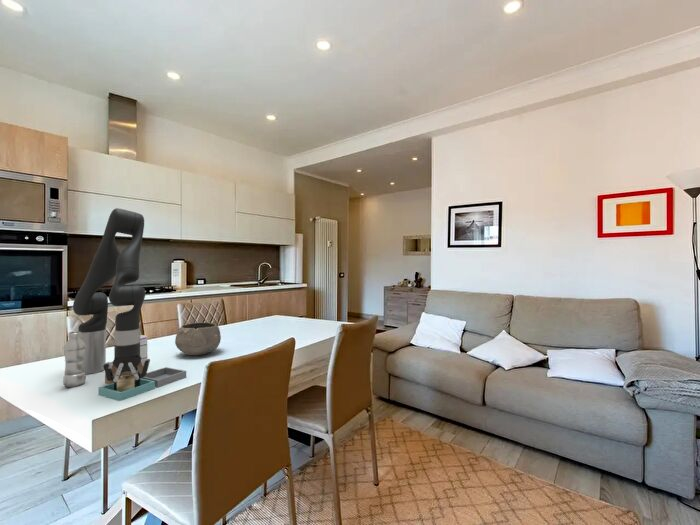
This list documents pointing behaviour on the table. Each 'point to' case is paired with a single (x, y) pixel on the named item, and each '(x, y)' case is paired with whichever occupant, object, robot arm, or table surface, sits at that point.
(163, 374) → the gray bin
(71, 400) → the table surface
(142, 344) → the syrup box
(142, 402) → the table surface
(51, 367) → the table surface
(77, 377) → the plastic bottle
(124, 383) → the letter cube
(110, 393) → the teal bin
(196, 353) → the clay pot
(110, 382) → the walnut stand
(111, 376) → the robot arm
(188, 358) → the table surface
